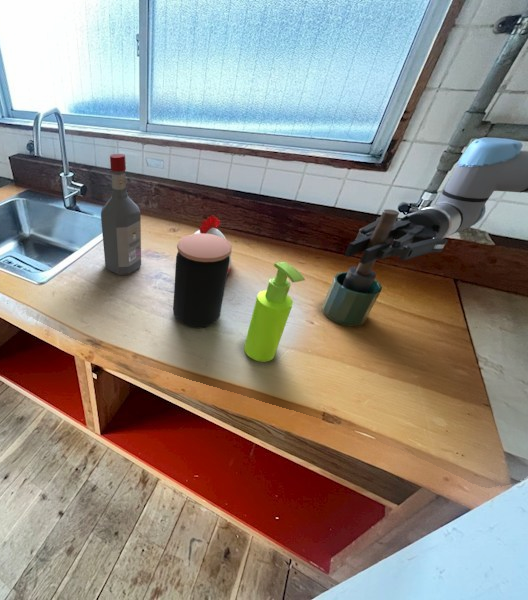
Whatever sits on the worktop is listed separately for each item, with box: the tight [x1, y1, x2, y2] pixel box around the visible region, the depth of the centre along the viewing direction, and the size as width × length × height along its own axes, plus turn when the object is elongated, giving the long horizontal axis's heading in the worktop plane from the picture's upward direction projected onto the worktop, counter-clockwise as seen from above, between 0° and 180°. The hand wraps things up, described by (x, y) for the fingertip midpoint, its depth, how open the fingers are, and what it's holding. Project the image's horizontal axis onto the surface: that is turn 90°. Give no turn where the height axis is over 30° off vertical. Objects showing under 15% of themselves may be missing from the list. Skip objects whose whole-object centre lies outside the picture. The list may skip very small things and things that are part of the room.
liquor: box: [100, 153, 142, 276], centre depth 84 cm, size 9×9×30 cm
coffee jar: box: [172, 233, 233, 329], centre depth 69 cm, size 11×11×18 cm
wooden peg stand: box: [342, 209, 400, 293], centre depth 64 cm, size 5×5×18 cm
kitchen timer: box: [193, 214, 232, 275], centre depth 86 cm, size 14×14×15 cm
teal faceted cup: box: [321, 271, 383, 327], centre depth 70 cm, size 9×9×8 cm
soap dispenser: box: [243, 261, 306, 363], centre depth 58 cm, size 6×7×20 cm
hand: (356, 253), depth 61 cm, fingers closed on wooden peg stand, 2 cm apart
